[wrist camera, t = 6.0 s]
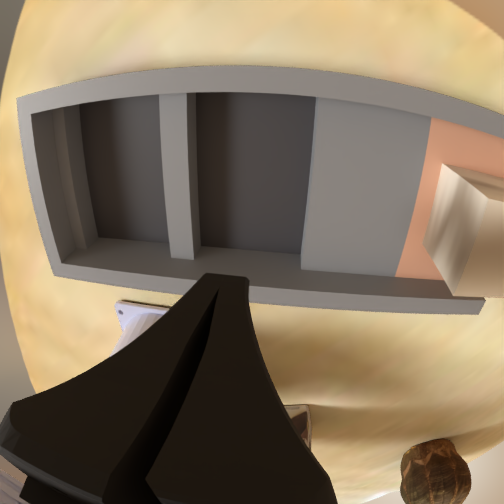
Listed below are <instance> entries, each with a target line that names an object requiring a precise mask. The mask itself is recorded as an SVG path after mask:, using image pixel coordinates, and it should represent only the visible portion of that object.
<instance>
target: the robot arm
mask: <svg viewBox="0 0 504 504" xmlns="http://www.w3.org/2000/svg"><path fill="white" fill-rule="evenodd" d="M249 282H250V280H249V279H248V278H247V277H243V276H234V275H224V274H215V273H205V274H204V275H202V277H201V278H200V279H199V280H198V281H197V282H196V283H195V284H194V285H193V286H192V287H191V288H190V289H189V290H188V291H187V292H186V293H185V294H184V295H183V297H182V298H181V299H180V300H178V301H177V302H176V303H175V304H174V305H173V306H172V307H171V308H163V307H156V306H149V305H143V304H136V303H130V302H124V301H117V302H116V303H115V310H116V313H117V316H118V319H119V322H120V325H121V328H122V331H123V333H122V334H121V336H120V338H119V340H118V342H117V343H116V345H115V347H114V349H113V351H112V353H111V355H110V356H109V358H107V359H106V360H104V361H103V362H101V363H99V364H98V365H96V366H94V367H93V368H91V369H89V370H88V371H86V372H84V373H82V374H80V375H78V376H76V377H74V378H72V379H70V380H68V381H66V382H64V383H62V384H60V385H58V386H55V387H53V388H51V389H48V390H46V391H43V392H41V393H38V394H35V395H33V396H30V397H27V398H24V399H22V400H19V401H16V402H13V403H12V405H11V406H10V408H9V409H8V411H7V413H6V415H5V416H4V418H3V420H2V422H1V424H0V455H2V456H3V457H4V458H5V459H6V460H8V461H9V462H10V463H11V464H13V465H14V466H15V467H17V468H18V469H19V470H21V471H22V472H23V473H25V474H26V475H27V476H28V477H27V479H26V481H25V483H24V484H23V483H21V482H20V481H18V480H17V479H15V478H14V477H12V476H10V475H9V474H7V473H6V472H4V471H3V470H2V469H0V504H338V503H337V499H336V496H335V492H334V489H333V486H332V483H331V480H330V477H329V476H328V474H327V473H326V471H325V470H324V469H323V467H322V466H321V465H320V463H319V462H318V461H317V459H316V458H315V456H314V455H313V453H312V452H311V451H310V449H309V448H308V446H307V445H306V443H305V441H304V440H303V438H302V437H301V435H300V434H299V432H298V430H297V429H296V427H295V425H294V424H293V422H292V420H291V418H290V416H289V414H288V412H287V411H286V409H285V407H284V405H283V403H282V401H281V399H280V398H279V396H278V393H277V391H276V389H275V387H274V385H273V382H272V380H271V378H270V375H269V373H268V370H267V368H266V365H265V363H264V360H263V357H262V354H261V351H260V348H259V345H258V342H257V338H256V335H255V331H254V327H253V322H252V318H251V313H250V307H249Z"/></svg>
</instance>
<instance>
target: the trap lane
mask: <svg viewBox="0 0 504 504" xmlns="http://www.w3.org/2000/svg"><path fill="white" fill-rule="evenodd" d="M17 111H18V121H19V129H20V137H21V144H22V151H23V157H24V163H25V169H26V174H27V179H28V184H29V189H30V193H31V198H32V202H33V206H34V210H35V214H36V218H37V222H38V226H39V229H40V233H41V237H42V240H43V243H44V247H45V250H46V253H47V256H48V259H49V263H50V266H51V269H52V271H53V274H54V276H58V277H63V278H69V279H75V280H81V281H87V282H93V283H100V284H106V285H113V286H120V287H126V288H133V289H140V290H148V291H155V292H163V293H170V294H178V295H184V294H185V293H186V292H187V291H188V290H189V289H190V288H191V287H192V286H193V285H194V284H195V283H196V282H197V281H198V280H199V279H200V278H201V277H202V275H204V274H205V273H215V274H224V275H234V276H243V277H247V278H248V279H249V280H250V282H249V302H250V303H261V304H272V305H283V306H295V307H308V308H322V309H337V310H353V311H371V312H392V313H419V314H470V315H479V313H480V311H481V309H482V307H483V305H484V303H485V301H486V300H485V299H484V297H465V296H453V295H452V293H451V291H450V289H449V288H448V286H447V284H446V282H445V281H444V279H443V277H442V275H441V274H440V272H439V270H438V268H437V267H436V265H435V263H434V262H433V260H432V259H431V257H430V255H429V254H428V252H427V250H426V249H425V247H424V246H423V244H422V242H423V239H424V235H425V232H426V228H427V225H428V221H429V217H430V214H431V210H432V206H433V202H434V198H435V194H436V189H437V185H438V181H439V176H440V171H441V166H442V163H444V164H448V165H453V166H457V167H462V168H466V169H470V170H474V171H478V172H482V173H486V174H490V175H493V176H497V177H501V178H504V115H501V114H499V113H496V112H494V111H491V110H488V109H486V108H483V107H480V106H477V105H474V104H472V103H469V102H466V101H462V100H459V99H456V98H453V97H450V96H446V95H443V94H439V93H436V92H432V91H429V90H425V89H421V88H417V87H413V86H409V85H404V84H400V83H395V82H391V81H386V80H381V79H375V78H370V77H364V76H358V75H352V74H345V73H338V72H330V71H322V70H313V69H302V68H290V67H273V66H196V67H179V68H167V69H156V70H147V71H139V72H131V73H124V74H117V75H111V76H105V77H100V78H94V79H89V80H84V81H79V82H75V83H70V84H66V85H62V86H58V87H54V88H50V89H46V90H42V91H39V92H35V93H32V94H28V95H25V96H22V97H19V98H17Z"/></svg>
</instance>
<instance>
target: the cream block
mask: <svg viewBox="0 0 504 504" xmlns="http://www.w3.org/2000/svg"><path fill="white" fill-rule="evenodd" d="M422 244H423V246H424V247H425V249H426V250H427V252H428V254H429V255H430V257H431V259H432V260H433V262H434V263H435V265H436V267H437V268H438V270H439V272H440V274H441V275H442V277H443V279H444V281H445V282H446V284H447V286H448V288H449V289H450V291H451V293H452V295H453V296H465V297H496V298H504V178H501V177H497V176H493V175H490V174H486V173H482V172H478V171H474V170H470V169H466V168H462V167H457V166H453V165H448V164H444V163H442V166H441V171H440V176H439V181H438V185H437V189H436V194H435V198H434V202H433V206H432V210H431V214H430V217H429V221H428V225H427V228H426V232H425V235H424V239H423V242H422Z"/></svg>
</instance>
